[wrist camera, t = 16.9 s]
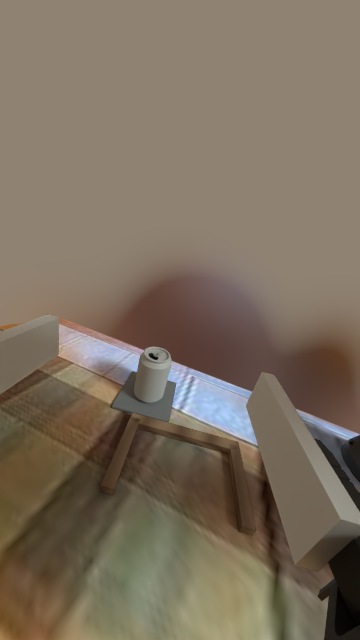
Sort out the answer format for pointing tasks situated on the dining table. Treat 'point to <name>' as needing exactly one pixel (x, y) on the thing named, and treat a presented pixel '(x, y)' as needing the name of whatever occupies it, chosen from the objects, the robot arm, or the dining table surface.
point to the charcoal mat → (153, 410)
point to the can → (152, 374)
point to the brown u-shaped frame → (193, 437)
